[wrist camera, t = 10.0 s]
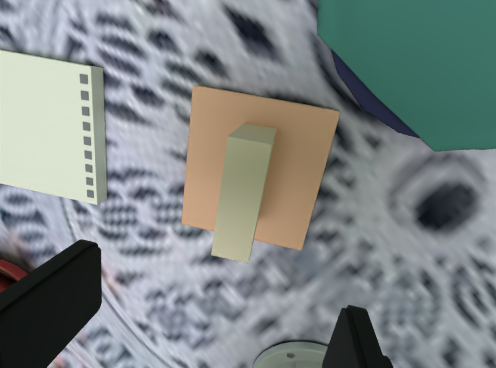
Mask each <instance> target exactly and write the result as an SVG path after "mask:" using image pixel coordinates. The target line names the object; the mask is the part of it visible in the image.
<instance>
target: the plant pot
mask: <svg viewBox="0 0 496 368" xmlns="http://www.w3.org/2000/svg"><path fill="white" fill-rule="evenodd" d="M26 275H28V273H27V272H25V271H24V270H23V269H21V268H20V267H18V266H16V265H14V264H12V263H10V262H8V261H5V260H1V259H0V293H1V292H2V291H4V290H5V289H7V288H8V287H10V286H11V285H13V284H14V283H16V282H17V281H19V280H20V279H22V278H23V277H25V276H26Z"/></svg>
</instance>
